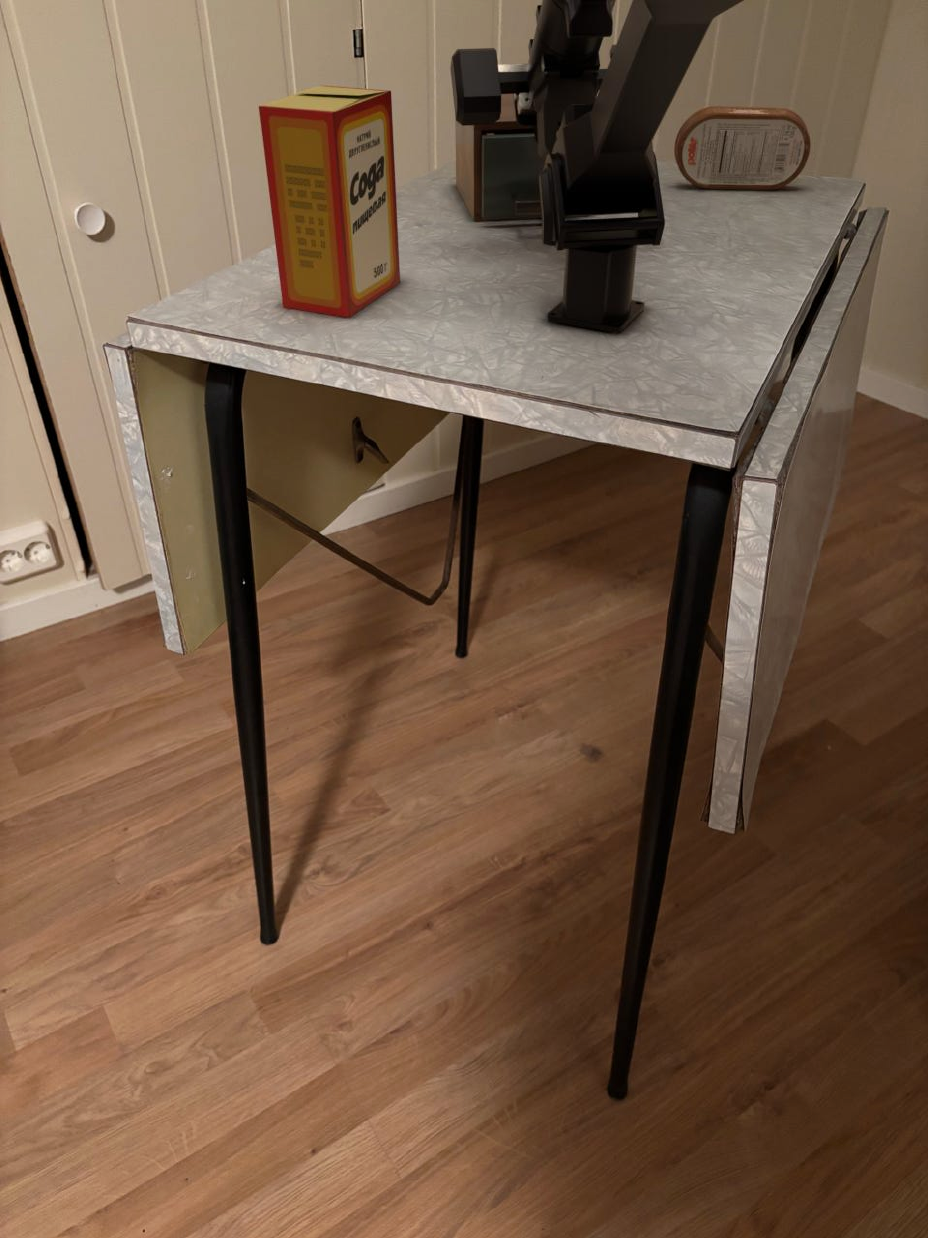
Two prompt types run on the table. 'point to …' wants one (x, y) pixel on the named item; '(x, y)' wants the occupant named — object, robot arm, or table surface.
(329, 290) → the baking soda box
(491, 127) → the cabinet
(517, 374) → the table surface
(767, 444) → the table surface
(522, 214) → the drawer
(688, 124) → the tin
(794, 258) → the table surface
